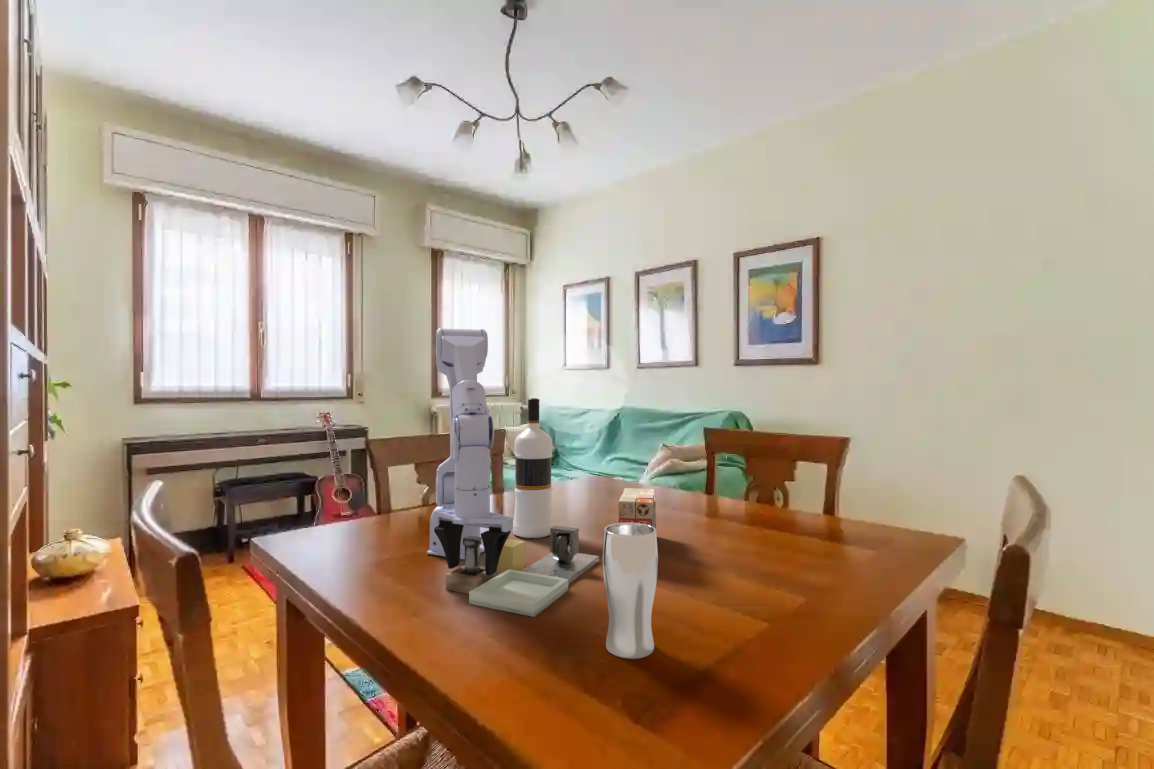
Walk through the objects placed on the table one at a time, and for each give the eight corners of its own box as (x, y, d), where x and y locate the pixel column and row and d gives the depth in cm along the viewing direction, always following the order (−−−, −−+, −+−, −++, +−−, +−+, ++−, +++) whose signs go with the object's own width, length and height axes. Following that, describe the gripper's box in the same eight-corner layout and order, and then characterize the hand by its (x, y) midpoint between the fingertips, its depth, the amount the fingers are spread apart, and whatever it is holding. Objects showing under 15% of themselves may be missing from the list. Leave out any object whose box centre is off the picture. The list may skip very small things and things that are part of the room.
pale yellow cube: (493, 572, 98) (493, 544, 98) (505, 566, 101) (505, 538, 101) (512, 576, 96) (512, 547, 96) (524, 569, 99) (524, 541, 99)
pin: (459, 587, 90) (459, 539, 90) (470, 581, 93) (470, 535, 93) (474, 590, 89) (474, 542, 89) (485, 584, 92) (485, 537, 92)
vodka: (524, 541, 116) (525, 399, 116) (505, 532, 124) (505, 398, 124) (562, 535, 121) (562, 398, 121) (541, 526, 129) (541, 397, 129)
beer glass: (599, 635, 73) (599, 522, 73) (651, 633, 74) (651, 521, 74) (606, 662, 66) (606, 537, 66) (663, 660, 67) (664, 535, 67)
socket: (445, 589, 90) (445, 574, 90) (468, 577, 95) (468, 563, 95) (476, 595, 87) (476, 580, 87) (497, 582, 92) (497, 568, 92)
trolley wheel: (515, 579, 94) (515, 538, 94) (556, 555, 107) (556, 518, 107) (563, 588, 90) (563, 545, 90) (598, 561, 104) (599, 524, 104)
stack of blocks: (627, 535, 122) (627, 479, 122) (656, 537, 121) (656, 480, 121) (618, 567, 101) (618, 499, 101) (652, 569, 100) (652, 501, 100)
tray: (469, 603, 84) (469, 591, 84) (508, 579, 94) (508, 569, 94) (534, 616, 79) (534, 604, 79) (568, 590, 89) (568, 579, 89)
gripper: (421, 487, 90) (420, 571, 90) (496, 495, 84) (496, 584, 84) (448, 480, 97) (448, 558, 97) (520, 487, 91) (519, 570, 91)
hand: (472, 570), depth 91 cm, fingers open, 7 cm apart
